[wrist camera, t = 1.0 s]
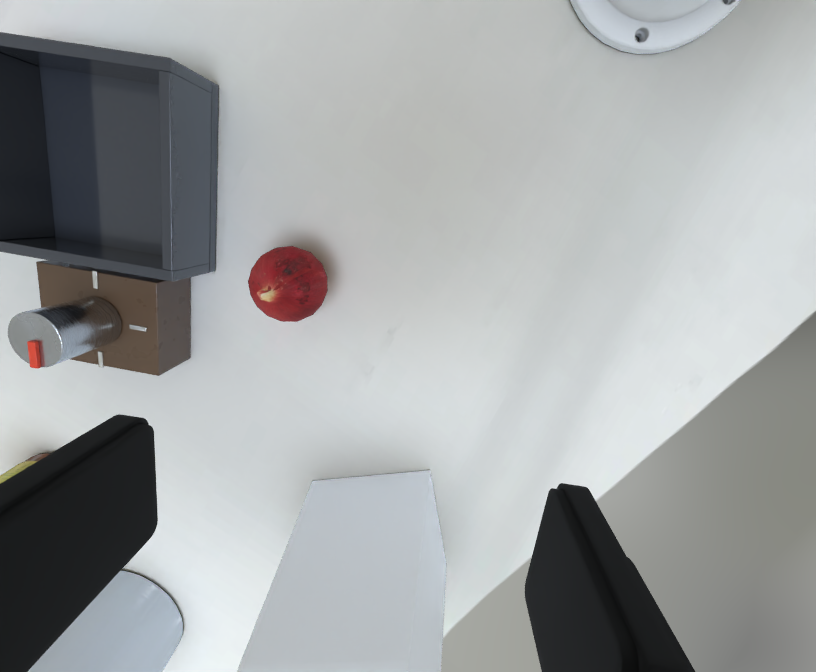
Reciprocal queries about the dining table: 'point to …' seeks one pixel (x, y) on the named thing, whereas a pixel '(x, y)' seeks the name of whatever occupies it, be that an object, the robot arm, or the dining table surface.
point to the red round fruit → (288, 283)
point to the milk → (357, 582)
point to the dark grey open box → (107, 159)
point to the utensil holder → (119, 631)
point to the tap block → (127, 314)
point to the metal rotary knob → (63, 330)
